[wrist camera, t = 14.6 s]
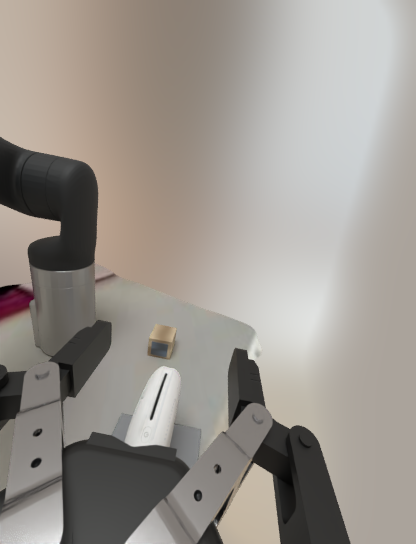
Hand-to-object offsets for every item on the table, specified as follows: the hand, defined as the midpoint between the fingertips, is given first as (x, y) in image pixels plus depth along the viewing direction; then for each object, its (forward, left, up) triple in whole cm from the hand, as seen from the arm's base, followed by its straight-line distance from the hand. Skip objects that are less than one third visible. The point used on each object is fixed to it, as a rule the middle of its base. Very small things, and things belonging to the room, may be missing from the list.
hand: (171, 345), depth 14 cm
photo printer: (-1, +5, -24) cm, 24 cm away
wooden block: (-5, +25, -24) cm, 35 cm away
